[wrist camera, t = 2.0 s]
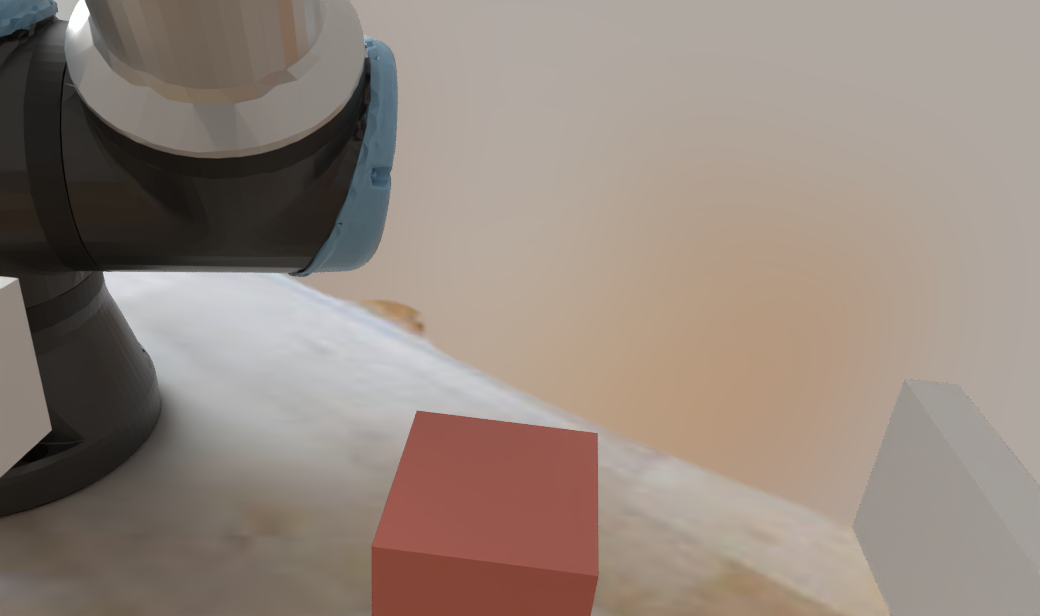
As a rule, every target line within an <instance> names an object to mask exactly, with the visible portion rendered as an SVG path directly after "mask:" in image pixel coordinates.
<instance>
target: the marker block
mask: <svg viewBox="0 0 1040 616" xmlns="http://www.w3.org/2000/svg"><path fill="white" fill-rule="evenodd" d="M597 580H598V433H591V432H583V431H575V430H567V429H559V428H551V427H543V426H535V425H528V424H520V423H512V422H504V421H496V420H488V419H480V418H472V417H464V416H456V415H448V414H440V413H432V412H424V411H417V412H416V415H415V418H414V421H413V424H412V427H411V430H410V433H409V436H408V439H407V442H406V445H405V448H404V451H403V454H402V457H401V460H400V463H399V466H398V469H397V472H396V475H395V478H394V481H393V484H392V487H391V490H390V493H389V496H388V499H387V502H386V505H385V508H384V511H383V514H382V517H381V520H380V523H379V526H378V529H377V532H376V535H375V538H374V541H373V544H372V616H590V615H591V610H592V605H593V600H594V595H595V590H596V585H597Z"/></svg>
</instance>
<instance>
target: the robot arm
mask: <svg viewBox="0 0 1040 616" xmlns="http://www.w3.org/2000/svg"><path fill="white" fill-rule="evenodd" d="M57 12H58V8H57V3H56V2H54V1H53V0H0V516H2V515H6V514H11V513H15V512H19V511H22V510H26V509H30V508H33V507H36V506H39V505H42V504H45V503H48V502H51V501H53V500H56V499H58V498H61V497H63V496H66V495H68V494H70V493H72V492H75V491H77V490H79V489H81V488H83V487H85V486H87V485H89V484H91V483H92V482H94V481H96V480H98V479H100V478H101V477H103V476H104V475H106V474H108V473H109V472H111V471H112V470H113V469H115V468H116V467H118V466H119V465H120V464H122V463H123V462H124V461H125V460H127V459H128V458H129V457H130V456H131V455H132V454H133V453H134V452H135V451H136V450H137V449H138V448H139V447H140V446H141V445H142V444H143V443H144V442H145V440H146V439H147V438H148V436H149V435H150V433H151V432H152V430H153V429H154V427H155V424H156V422H157V420H158V417H159V413H160V406H161V403H160V394H159V389H158V383H157V377H156V371H155V368H154V365H153V362H152V360H151V358H150V356H149V355H148V353H147V352H146V351H145V349H144V348H143V347H142V345H141V344H140V343H139V342H138V341H137V339H136V337H135V335H134V333H133V332H132V330H131V328H130V326H129V325H128V323H127V321H126V319H125V318H124V316H123V314H122V313H121V311H120V309H119V308H118V306H117V304H116V303H115V301H114V300H113V298H112V296H111V295H110V293H109V291H108V290H107V287H106V285H105V280H104V276H103V271H107V272H112V271H121V272H255V273H288V274H289V275H291V276H298V277H305V276H308V275H310V274H312V273H316V272H317V273H318V272H338V271H339V272H340V271H350V270H354V269H357V268H359V267H361V266H363V265H365V264H366V263H367V262H368V261H369V260H370V259H371V258H372V257H373V255H374V254H375V252H376V250H377V248H378V246H379V243H380V241H381V237H382V234H383V230H384V226H385V221H386V216H387V210H388V205H389V198H390V190H391V177H390V172H391V170H392V165H393V158H394V153H395V145H396V129H397V104H398V100H397V99H398V92H397V91H398V90H397V89H398V88H397V70H396V63H395V58H394V54H393V52H392V51H391V49H390V48H389V47H388V46H387V45H386V44H385V43H384V42H381V41H377V40H373V39H371V38H370V37H369V36H367V35H363V31H362V27H361V24H360V21H359V18H358V15H357V13H356V10H355V9H354V7H353V6H352V4H351V2H350V1H349V0H80V1H79V2H78V4H77V5H76V7H75V9H74V11H73V13H72V15H71V17H70V20H69V21H63V20H59V19H58V18H57V17H55V14H56V13H57ZM852 527H853V530H854V532H855V534H856V537H857V539H858V541H859V544H860V546H861V548H862V550H863V553H864V555H865V557H866V560H867V562H868V564H869V567H870V569H871V571H872V573H873V576H874V578H875V580H876V583H877V585H878V587H879V590H880V592H881V594H882V596H883V599H884V601H885V603H886V606H887V608H888V610H889V613H890V615H891V616H1040V486H1039V484H1038V483H1037V482H1036V480H1035V479H1034V478H1033V477H1032V476H1031V474H1030V473H1029V472H1028V470H1027V469H1026V468H1025V467H1024V466H1023V464H1022V463H1021V462H1020V461H1019V460H1018V458H1017V457H1016V456H1015V454H1014V453H1013V452H1012V451H1011V449H1010V448H1009V447H1008V446H1007V445H1006V443H1005V442H1004V441H1003V439H1002V438H1001V437H1000V436H999V434H998V433H997V432H996V431H995V429H994V428H993V427H992V426H991V425H990V423H989V422H988V421H987V420H986V418H985V417H984V416H983V415H982V413H981V412H980V411H979V410H978V409H977V407H976V406H975V405H974V403H973V402H972V401H971V400H970V398H969V397H968V396H967V395H966V394H965V392H964V391H963V390H962V388H961V387H960V386H959V385H955V384H947V383H938V382H929V381H921V380H912V379H904V381H903V384H902V387H901V389H900V392H899V395H898V398H897V401H896V404H895V406H894V409H893V412H892V415H891V418H890V421H889V424H888V426H887V429H886V432H885V435H884V438H883V441H882V443H881V446H880V449H879V452H878V455H877V458H876V461H875V463H874V466H873V469H872V472H871V475H870V478H869V480H868V483H867V486H866V489H865V492H864V494H863V497H862V500H861V503H860V506H859V509H858V511H857V514H856V518H855V520H854V523H853V526H852Z"/></svg>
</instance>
